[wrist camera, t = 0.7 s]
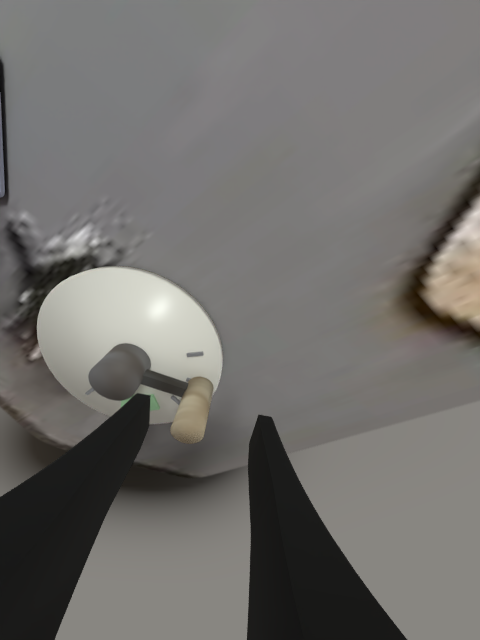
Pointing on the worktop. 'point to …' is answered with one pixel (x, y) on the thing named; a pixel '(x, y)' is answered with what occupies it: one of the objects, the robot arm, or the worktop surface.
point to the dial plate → (127, 333)
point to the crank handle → (134, 369)
